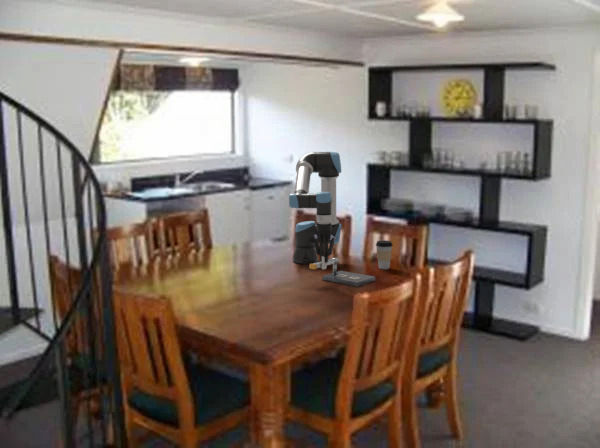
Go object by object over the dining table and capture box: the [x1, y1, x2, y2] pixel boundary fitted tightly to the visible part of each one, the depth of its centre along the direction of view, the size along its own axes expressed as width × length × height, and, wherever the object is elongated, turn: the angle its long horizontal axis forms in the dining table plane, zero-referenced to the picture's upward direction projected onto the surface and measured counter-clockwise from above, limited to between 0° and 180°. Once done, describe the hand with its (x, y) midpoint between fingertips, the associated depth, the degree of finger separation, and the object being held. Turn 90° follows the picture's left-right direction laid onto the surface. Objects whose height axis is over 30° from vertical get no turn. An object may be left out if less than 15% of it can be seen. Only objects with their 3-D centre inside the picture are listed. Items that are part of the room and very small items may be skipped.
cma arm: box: [308, 257, 340, 270], centre depth 340 cm, size 22×4×2 cm, turn 141°
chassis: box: [322, 263, 376, 287], centre depth 342 cm, size 22×16×8 cm
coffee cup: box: [375, 240, 394, 270], centre depth 369 cm, size 9×9×15 cm
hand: (324, 268), depth 336 cm, fingers closed
